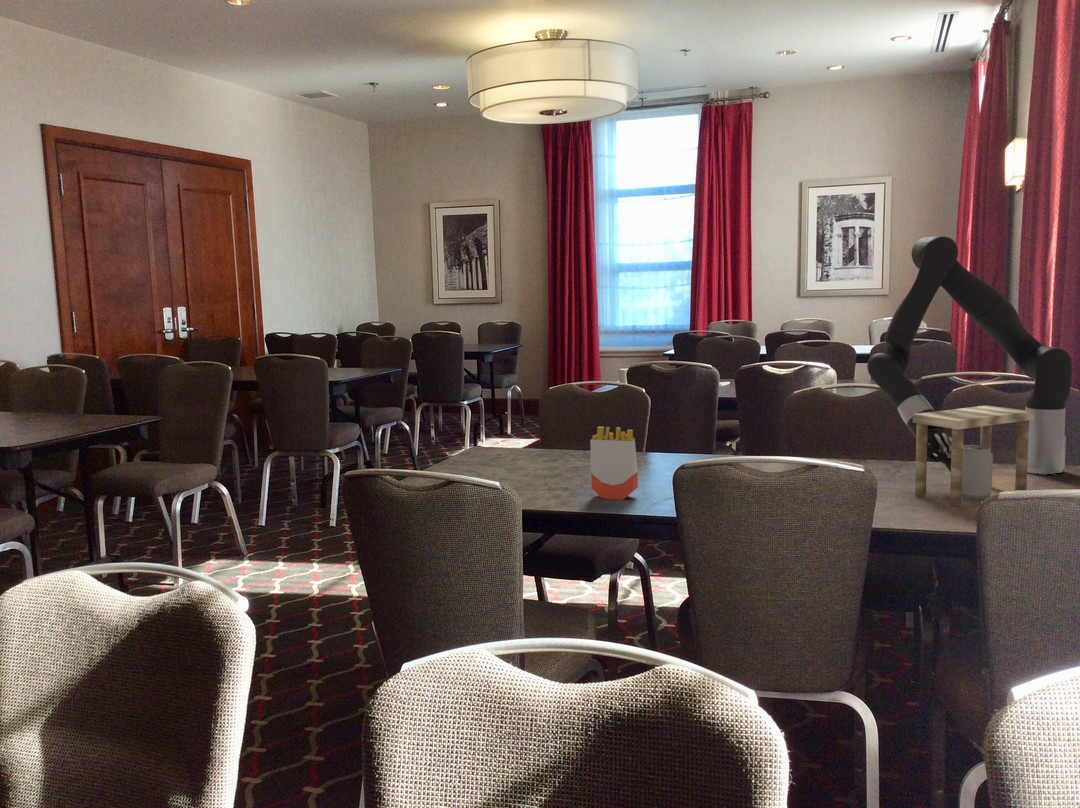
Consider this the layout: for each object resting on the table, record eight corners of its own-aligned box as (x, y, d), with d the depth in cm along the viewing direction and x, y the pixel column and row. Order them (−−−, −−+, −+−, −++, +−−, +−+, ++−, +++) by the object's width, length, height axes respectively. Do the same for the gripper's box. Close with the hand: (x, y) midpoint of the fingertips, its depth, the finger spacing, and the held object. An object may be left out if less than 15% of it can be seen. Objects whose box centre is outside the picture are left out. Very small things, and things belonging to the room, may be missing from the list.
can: (997, 499, 207) (999, 448, 205) (965, 499, 207) (967, 449, 205) (982, 491, 214) (984, 443, 213) (951, 492, 214) (952, 444, 213)
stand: (983, 483, 222) (985, 405, 220) (1030, 493, 211) (1034, 411, 208) (910, 496, 212) (912, 414, 210) (956, 507, 200) (959, 420, 198)
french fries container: (597, 493, 225) (595, 424, 223) (638, 496, 221) (637, 425, 219) (591, 497, 221) (590, 427, 219) (633, 500, 217) (632, 428, 214)
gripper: (909, 410, 218) (948, 467, 208) (947, 405, 223) (987, 461, 214) (891, 428, 223) (929, 484, 214) (929, 423, 229) (968, 478, 219)
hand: (958, 473), depth 214 cm, fingers closed
